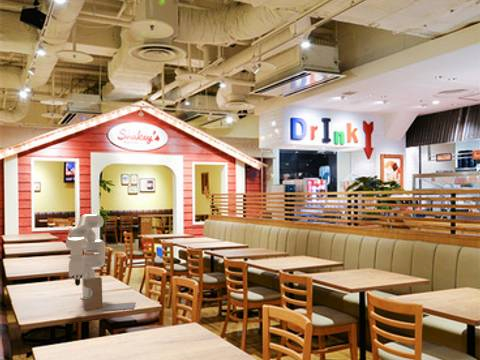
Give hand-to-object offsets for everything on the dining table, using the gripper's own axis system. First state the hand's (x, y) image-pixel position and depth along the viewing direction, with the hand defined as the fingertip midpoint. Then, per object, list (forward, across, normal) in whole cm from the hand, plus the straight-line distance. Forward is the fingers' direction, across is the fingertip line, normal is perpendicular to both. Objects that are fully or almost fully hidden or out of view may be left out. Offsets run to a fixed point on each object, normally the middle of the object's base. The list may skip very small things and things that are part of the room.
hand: (77, 285), depth 311 cm
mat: (+16, +27, -2) cm, 31 cm away
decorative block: (+16, +10, 0) cm, 19 cm away
